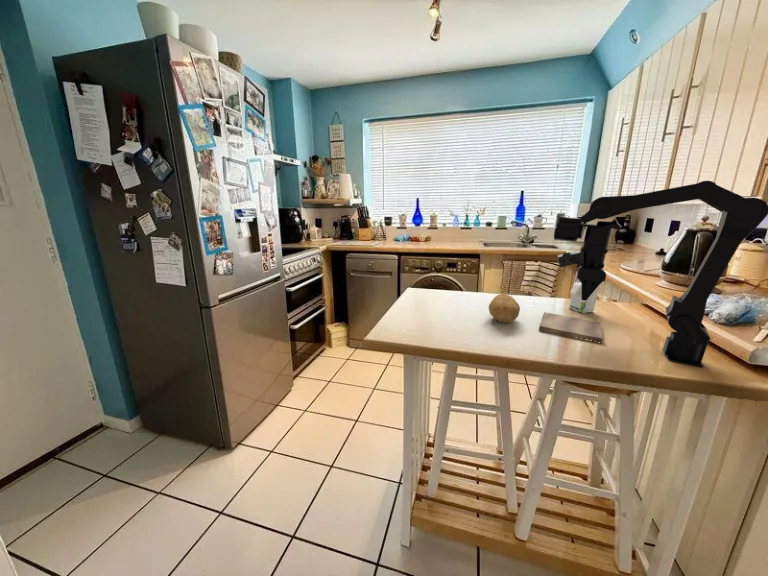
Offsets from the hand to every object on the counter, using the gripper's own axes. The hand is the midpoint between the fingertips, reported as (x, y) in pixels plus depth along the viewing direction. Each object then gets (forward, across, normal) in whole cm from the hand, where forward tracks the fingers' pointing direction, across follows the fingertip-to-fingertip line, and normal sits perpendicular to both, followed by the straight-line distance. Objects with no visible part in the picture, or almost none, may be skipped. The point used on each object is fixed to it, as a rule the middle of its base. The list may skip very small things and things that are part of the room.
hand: (583, 297), depth 89 cm
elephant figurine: (+1, 0, 0) cm, 1 cm away
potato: (+12, +2, -21) cm, 24 cm away
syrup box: (+12, -24, +2) cm, 26 cm away
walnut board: (+11, -3, -2) cm, 12 cm away
